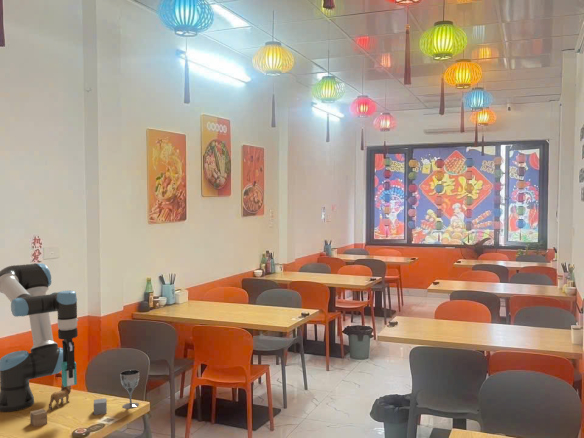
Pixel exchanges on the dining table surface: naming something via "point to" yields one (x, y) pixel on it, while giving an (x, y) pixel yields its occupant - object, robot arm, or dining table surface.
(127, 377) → the wine glass
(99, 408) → the grey block
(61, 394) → the lion figurine
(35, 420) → the walnut block
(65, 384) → the teal block
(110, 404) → the dining table surface
